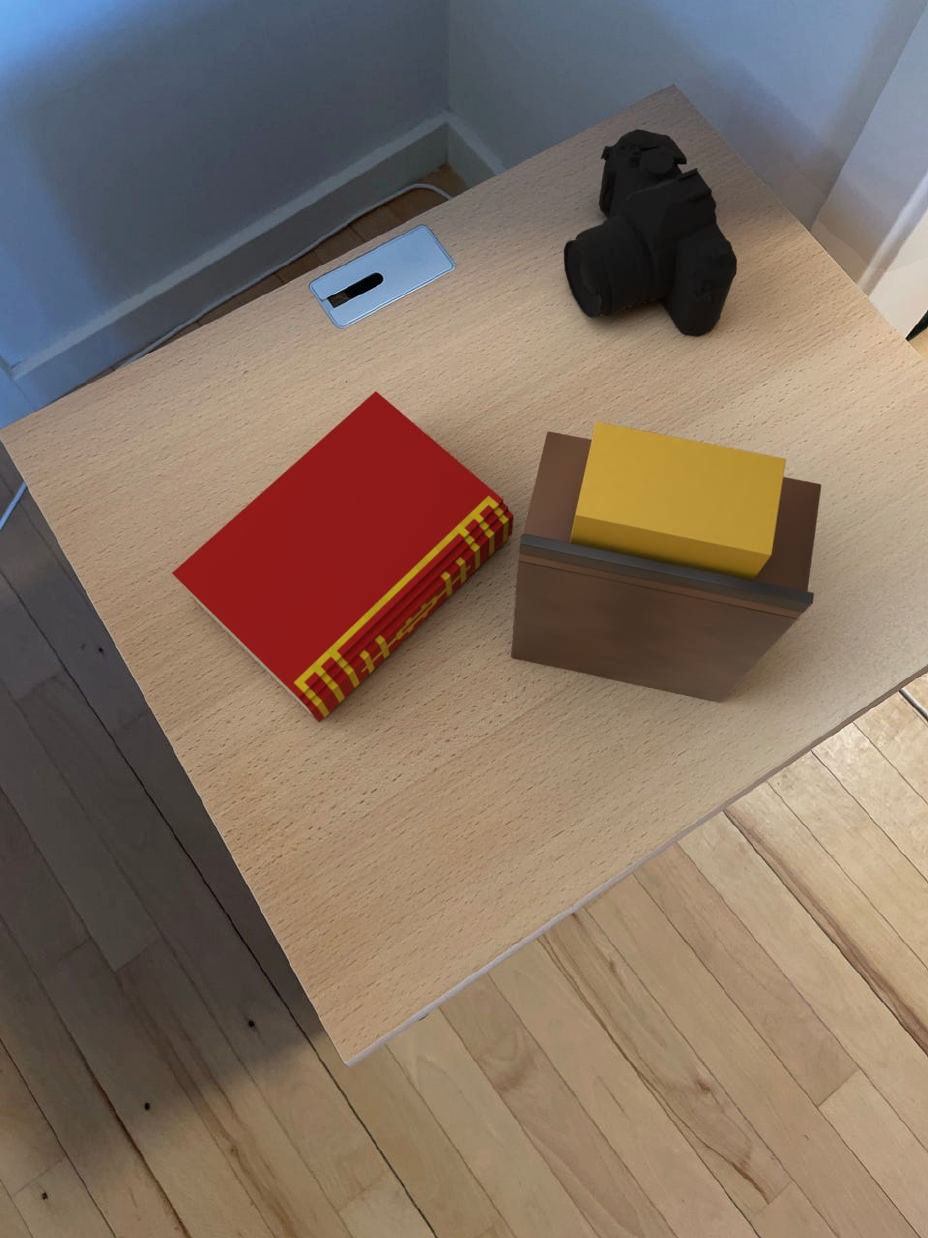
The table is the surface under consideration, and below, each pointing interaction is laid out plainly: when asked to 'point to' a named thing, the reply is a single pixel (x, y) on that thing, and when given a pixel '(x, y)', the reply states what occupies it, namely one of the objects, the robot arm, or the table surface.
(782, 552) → the top shelf
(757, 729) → the table surface
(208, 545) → the book
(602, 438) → the yellow box
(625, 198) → the film camera
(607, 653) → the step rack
